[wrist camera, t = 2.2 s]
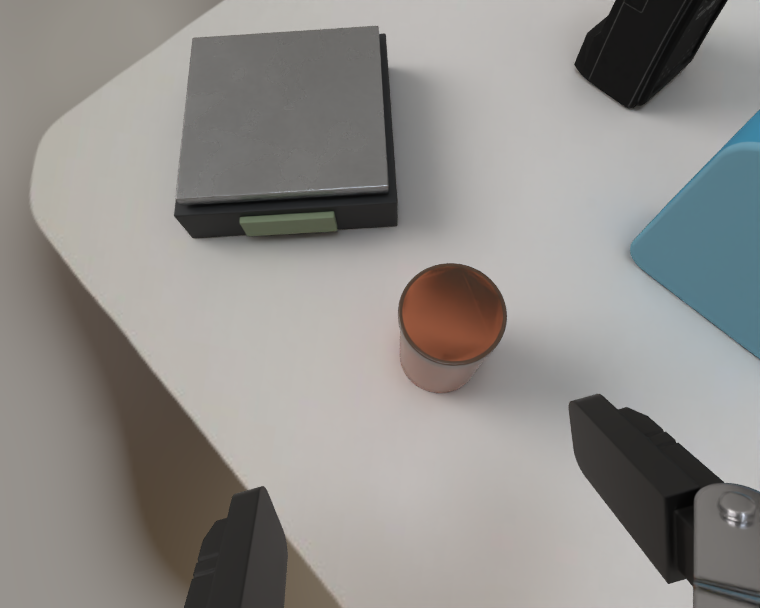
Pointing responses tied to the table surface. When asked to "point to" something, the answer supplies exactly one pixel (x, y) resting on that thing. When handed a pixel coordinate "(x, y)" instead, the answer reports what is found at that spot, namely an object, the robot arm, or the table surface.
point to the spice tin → (448, 325)
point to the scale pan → (283, 117)
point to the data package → (714, 240)
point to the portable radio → (644, 45)
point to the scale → (302, 202)
